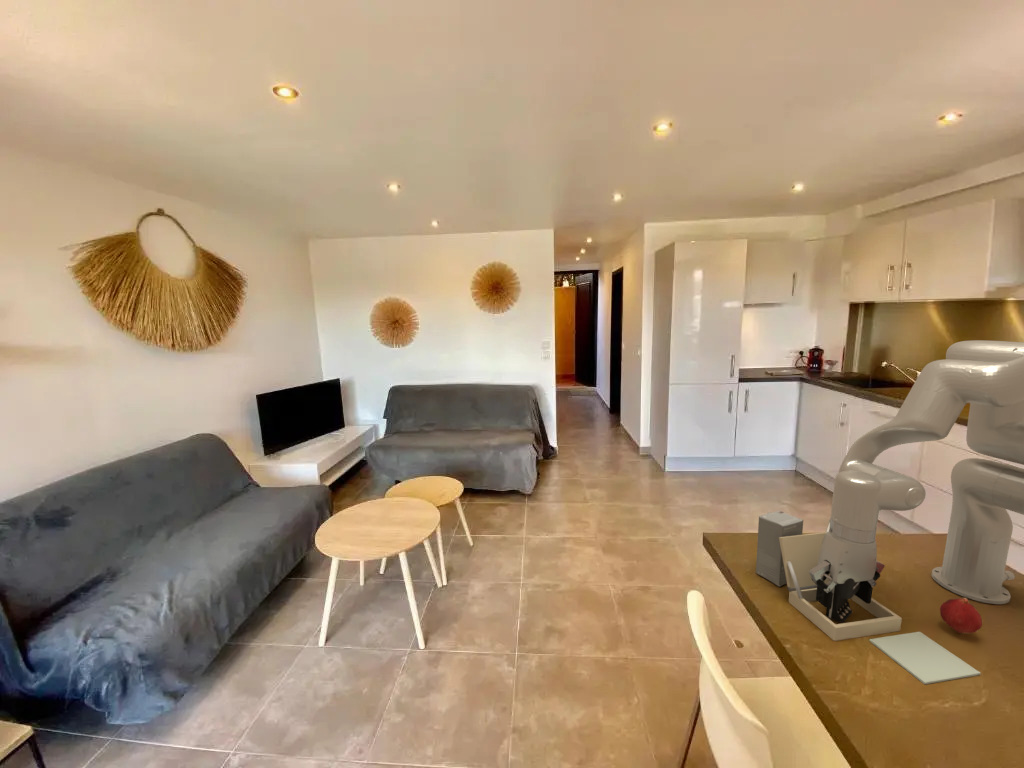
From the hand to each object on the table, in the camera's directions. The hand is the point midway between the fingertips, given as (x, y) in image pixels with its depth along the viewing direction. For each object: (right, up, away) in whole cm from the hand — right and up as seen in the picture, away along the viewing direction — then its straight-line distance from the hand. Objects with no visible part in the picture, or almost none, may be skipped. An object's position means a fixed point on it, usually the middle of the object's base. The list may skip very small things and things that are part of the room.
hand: (842, 601), depth 89 cm
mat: (+7, -5, -10) cm, 13 cm away
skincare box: (-5, -1, +15) cm, 16 cm away
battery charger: (0, -4, +1) cm, 4 cm away
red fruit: (+20, -4, -5) cm, 21 cm away
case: (0, -3, +3) cm, 4 cm away
